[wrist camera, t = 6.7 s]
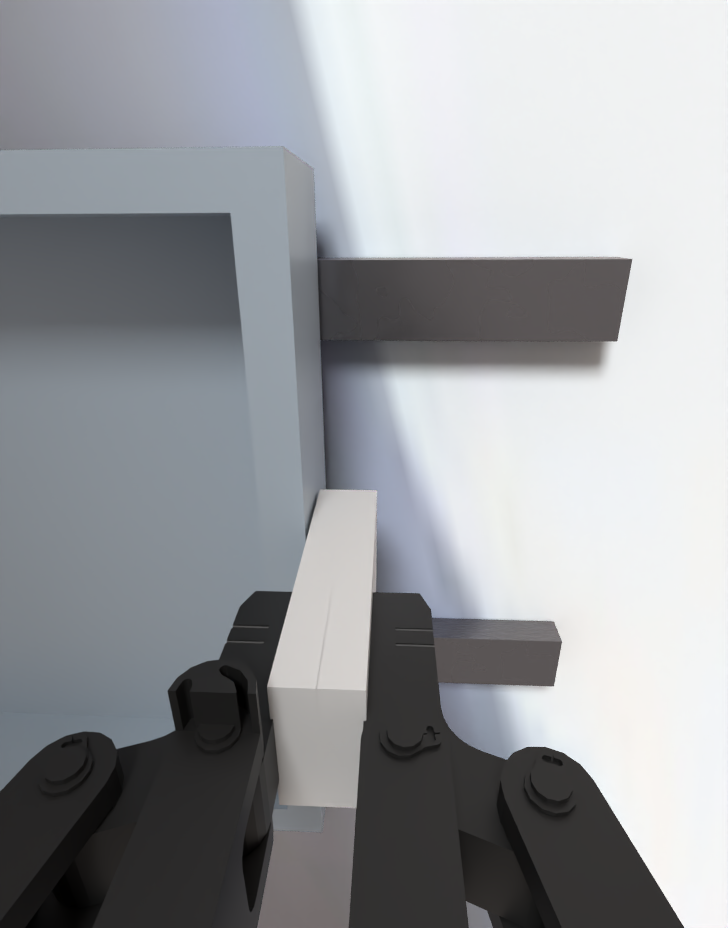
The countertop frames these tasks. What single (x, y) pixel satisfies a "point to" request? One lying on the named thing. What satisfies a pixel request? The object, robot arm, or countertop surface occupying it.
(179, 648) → the shallow square tray
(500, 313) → the rails
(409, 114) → the countertop surface
